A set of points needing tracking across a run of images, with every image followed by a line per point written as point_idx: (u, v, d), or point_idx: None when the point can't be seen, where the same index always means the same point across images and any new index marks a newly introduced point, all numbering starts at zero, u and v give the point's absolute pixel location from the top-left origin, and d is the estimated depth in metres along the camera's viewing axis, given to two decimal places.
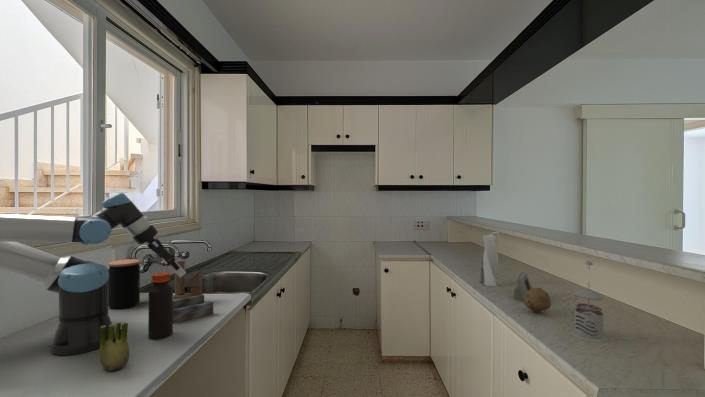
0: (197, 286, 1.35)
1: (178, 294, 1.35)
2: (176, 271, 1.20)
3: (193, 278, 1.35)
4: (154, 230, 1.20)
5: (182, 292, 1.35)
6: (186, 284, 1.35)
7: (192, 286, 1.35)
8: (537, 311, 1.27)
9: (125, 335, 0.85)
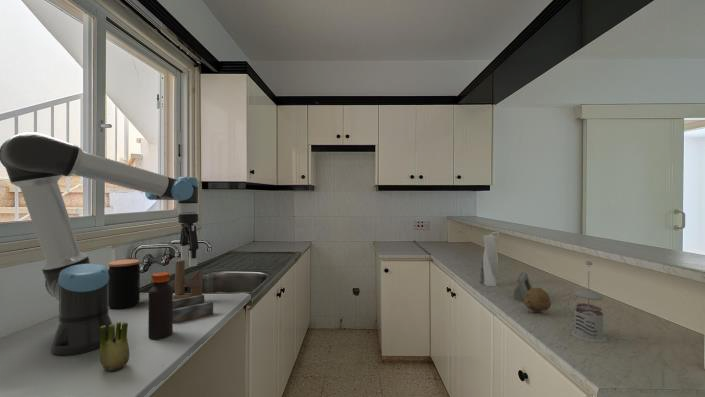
0: (197, 286, 1.35)
1: (178, 294, 1.35)
2: (191, 259, 1.30)
3: (193, 278, 1.35)
4: (197, 218, 1.36)
5: (182, 292, 1.35)
6: (186, 284, 1.35)
7: (192, 286, 1.35)
8: (537, 311, 1.27)
9: (125, 335, 0.85)
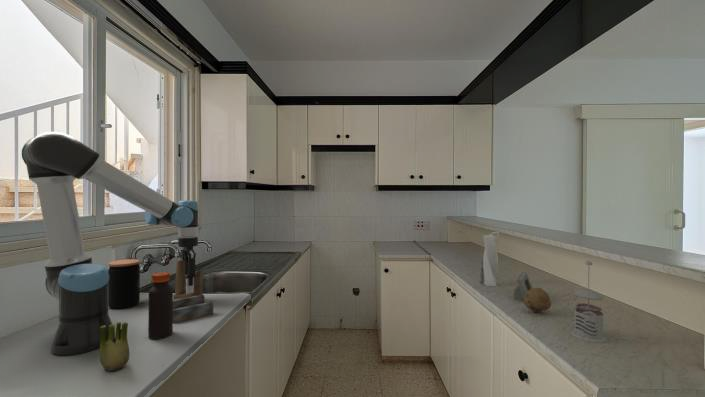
0: (198, 285, 1.35)
1: (178, 293, 1.35)
2: (187, 286, 1.33)
3: (194, 277, 1.35)
4: (197, 242, 1.36)
5: (182, 291, 1.36)
6: None
7: None
8: (537, 311, 1.27)
9: (125, 335, 0.85)
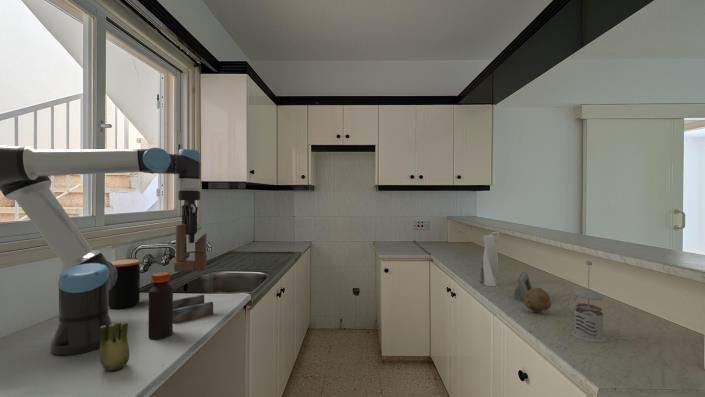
0: (202, 252, 1.24)
1: (180, 261, 1.22)
2: (188, 244, 1.21)
3: (197, 243, 1.23)
4: (199, 196, 1.24)
5: (184, 259, 1.23)
6: None
7: (196, 252, 1.23)
8: (537, 311, 1.27)
9: (125, 335, 0.85)
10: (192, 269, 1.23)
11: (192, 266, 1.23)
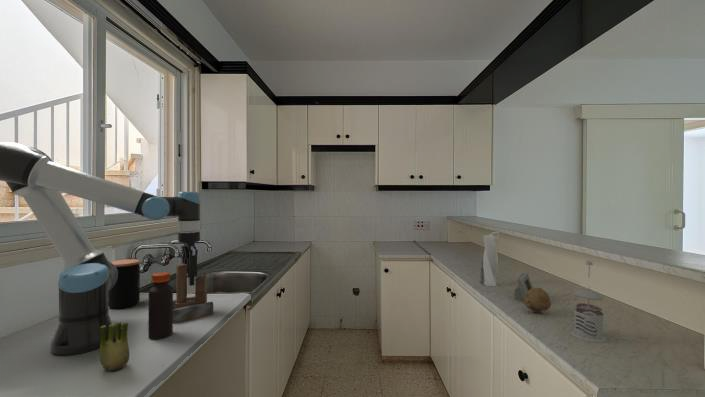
0: (203, 292, 1.24)
1: (181, 301, 1.22)
2: (189, 286, 1.21)
3: (198, 283, 1.23)
4: (199, 237, 1.24)
5: (185, 299, 1.23)
6: None
7: (197, 292, 1.23)
8: (537, 311, 1.27)
9: (125, 335, 0.85)
10: None
11: None
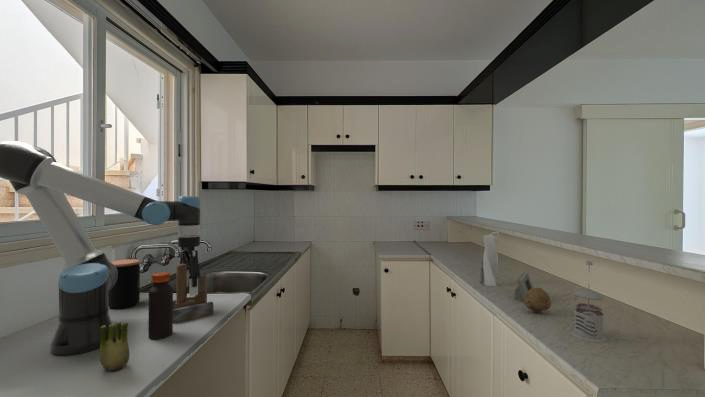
0: (203, 292, 1.24)
1: (181, 301, 1.22)
2: (191, 288, 1.18)
3: (198, 283, 1.23)
4: (199, 241, 1.24)
5: (185, 299, 1.23)
6: None
7: None
8: (537, 311, 1.27)
9: (125, 335, 0.85)
10: None
11: None
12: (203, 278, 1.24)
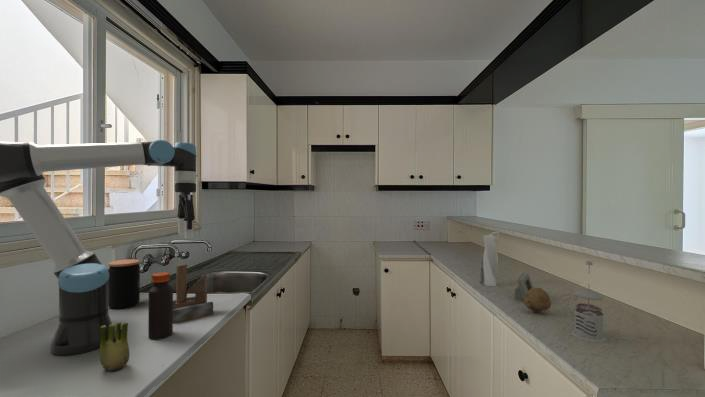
0: (203, 292, 1.24)
1: (181, 301, 1.22)
2: (186, 230, 1.21)
3: (198, 283, 1.23)
4: (195, 188, 1.27)
5: (185, 299, 1.23)
6: (190, 290, 1.23)
7: (197, 292, 1.23)
8: (537, 311, 1.27)
9: (125, 335, 0.85)
10: None
11: None
12: (203, 278, 1.24)
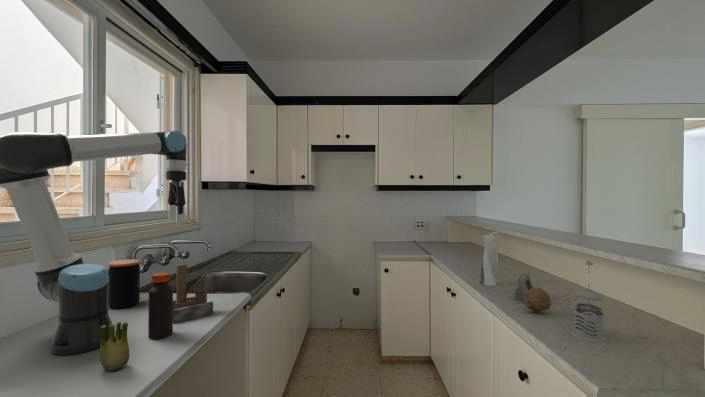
0: (203, 292, 1.24)
1: (181, 301, 1.22)
2: (177, 215, 1.30)
3: (198, 283, 1.23)
4: (185, 176, 1.36)
5: (185, 299, 1.23)
6: (190, 290, 1.23)
7: (197, 292, 1.23)
8: (537, 311, 1.27)
9: (125, 335, 0.85)
10: None
11: None
12: (203, 278, 1.24)
